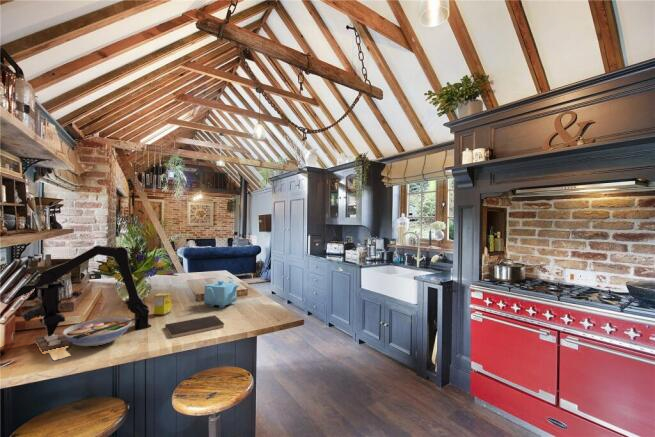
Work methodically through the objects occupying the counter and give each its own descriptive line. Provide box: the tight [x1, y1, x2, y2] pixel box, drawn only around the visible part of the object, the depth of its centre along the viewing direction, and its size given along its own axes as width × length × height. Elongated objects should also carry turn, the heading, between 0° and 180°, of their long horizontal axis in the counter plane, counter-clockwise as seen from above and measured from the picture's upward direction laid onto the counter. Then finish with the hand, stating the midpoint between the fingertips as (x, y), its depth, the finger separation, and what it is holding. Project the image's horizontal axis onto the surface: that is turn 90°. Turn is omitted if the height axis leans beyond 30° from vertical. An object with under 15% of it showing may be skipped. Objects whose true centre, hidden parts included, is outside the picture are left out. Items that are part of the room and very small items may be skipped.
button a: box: [49, 340, 61, 346], centre depth 118 cm, size 3×3×2 cm
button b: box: [46, 335, 58, 343], centre depth 121 cm, size 3×3×2 cm
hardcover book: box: [164, 315, 225, 339], centre depth 142 cm, size 16×23×2 cm
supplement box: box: [153, 292, 172, 317], centre depth 162 cm, size 6×6×11 cm
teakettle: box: [203, 279, 241, 309], centre depth 179 cm, size 19×19×15 cm
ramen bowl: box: [62, 316, 138, 347], centre depth 123 cm, size 25×23×8 cm
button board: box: [34, 332, 71, 352], centre depth 121 cm, size 17×8×2 cm, turn 52°
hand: (49, 336), depth 124 cm, fingers closed, pressing on button c
